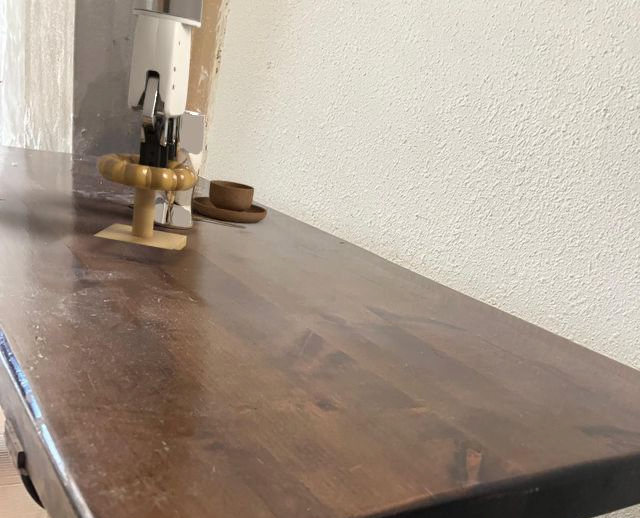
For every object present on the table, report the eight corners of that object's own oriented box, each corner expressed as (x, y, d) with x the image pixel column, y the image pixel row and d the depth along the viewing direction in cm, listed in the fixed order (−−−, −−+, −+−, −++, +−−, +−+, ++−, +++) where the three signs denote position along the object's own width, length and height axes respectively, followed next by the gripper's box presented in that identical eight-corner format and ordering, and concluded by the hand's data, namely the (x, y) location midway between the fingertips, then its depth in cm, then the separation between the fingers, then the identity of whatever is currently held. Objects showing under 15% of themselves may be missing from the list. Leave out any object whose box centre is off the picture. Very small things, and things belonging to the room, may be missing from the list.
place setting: (260, 231, 111) (265, 191, 108) (126, 207, 110) (128, 166, 107) (270, 214, 127) (275, 178, 124) (153, 193, 126) (156, 157, 123)
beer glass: (135, 217, 104) (143, 102, 98) (178, 218, 109) (188, 109, 103) (162, 229, 100) (172, 110, 94) (205, 230, 105) (217, 116, 99)
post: (92, 245, 85) (95, 171, 82) (114, 232, 93) (118, 164, 90) (170, 259, 85) (177, 186, 82) (185, 245, 94) (192, 178, 90)
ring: (83, 179, 81) (84, 156, 80) (113, 169, 92) (114, 148, 91) (184, 197, 82) (186, 175, 81) (203, 185, 92) (205, 165, 91)
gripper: (151, 8, 90) (141, 166, 98) (113, -8, 75) (105, 179, 83) (213, 20, 91) (198, 176, 98) (187, 5, 76) (172, 191, 83)
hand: (155, 176), depth 90 cm, fingers closed on ring, 2 cm apart
